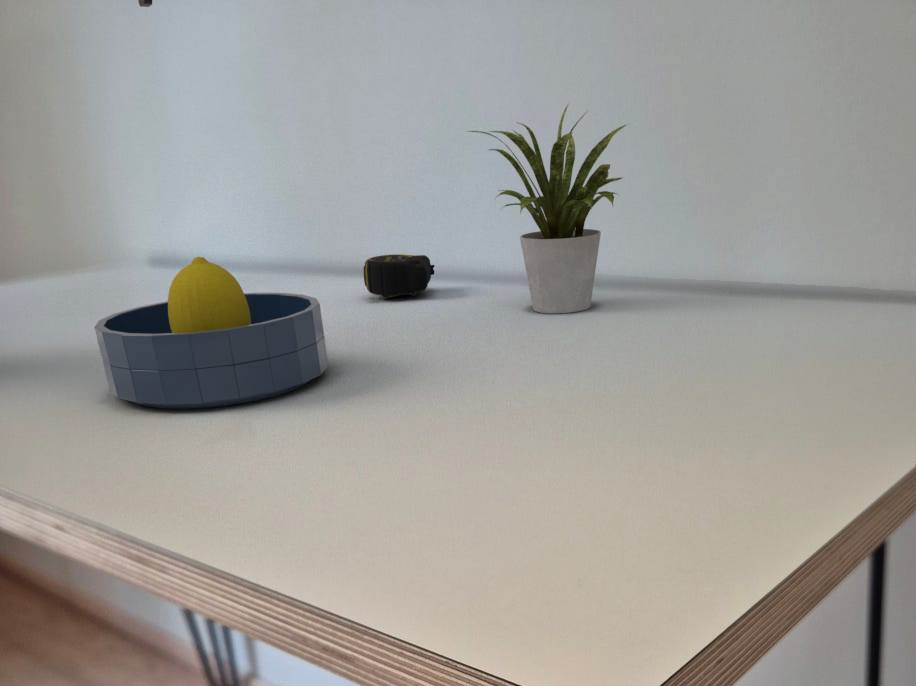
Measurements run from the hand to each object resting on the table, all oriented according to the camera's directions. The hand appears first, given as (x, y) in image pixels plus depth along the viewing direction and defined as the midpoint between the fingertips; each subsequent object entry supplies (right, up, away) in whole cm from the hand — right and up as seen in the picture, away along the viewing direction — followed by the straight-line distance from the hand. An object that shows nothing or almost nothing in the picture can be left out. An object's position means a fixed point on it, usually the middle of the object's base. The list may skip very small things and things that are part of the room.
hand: (95, 1), depth 83 cm
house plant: (+39, -25, +5) cm, 47 cm away
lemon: (+14, -36, -13) cm, 41 cm away
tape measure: (+25, -20, +16) cm, 36 cm away
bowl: (+14, -36, -13) cm, 41 cm away
